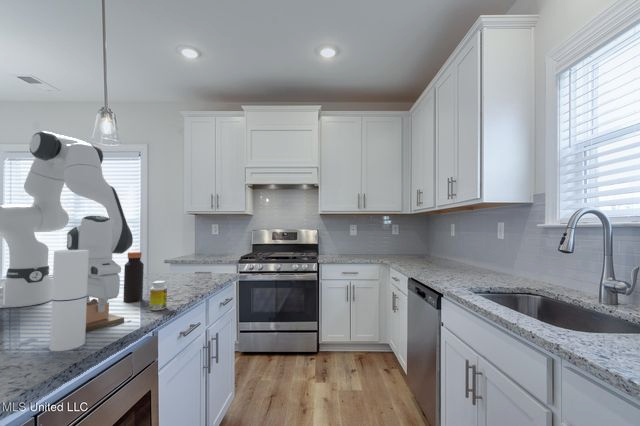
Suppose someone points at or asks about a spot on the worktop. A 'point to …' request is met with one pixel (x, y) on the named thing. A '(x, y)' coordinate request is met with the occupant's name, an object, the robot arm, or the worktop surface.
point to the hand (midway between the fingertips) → (93, 310)
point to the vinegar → (133, 278)
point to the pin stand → (103, 321)
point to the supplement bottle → (158, 296)
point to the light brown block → (96, 313)
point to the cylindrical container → (69, 299)
